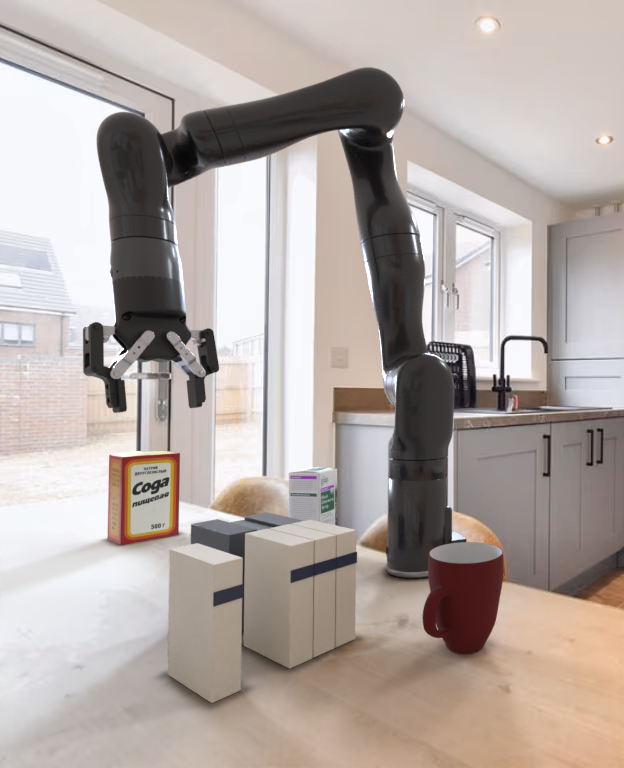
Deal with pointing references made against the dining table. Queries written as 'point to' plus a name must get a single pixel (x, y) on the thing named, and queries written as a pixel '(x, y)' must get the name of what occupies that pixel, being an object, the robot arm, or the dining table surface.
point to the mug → (463, 594)
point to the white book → (205, 620)
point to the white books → (299, 590)
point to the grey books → (235, 535)
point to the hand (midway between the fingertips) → (160, 409)
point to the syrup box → (314, 495)
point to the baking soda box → (143, 496)
